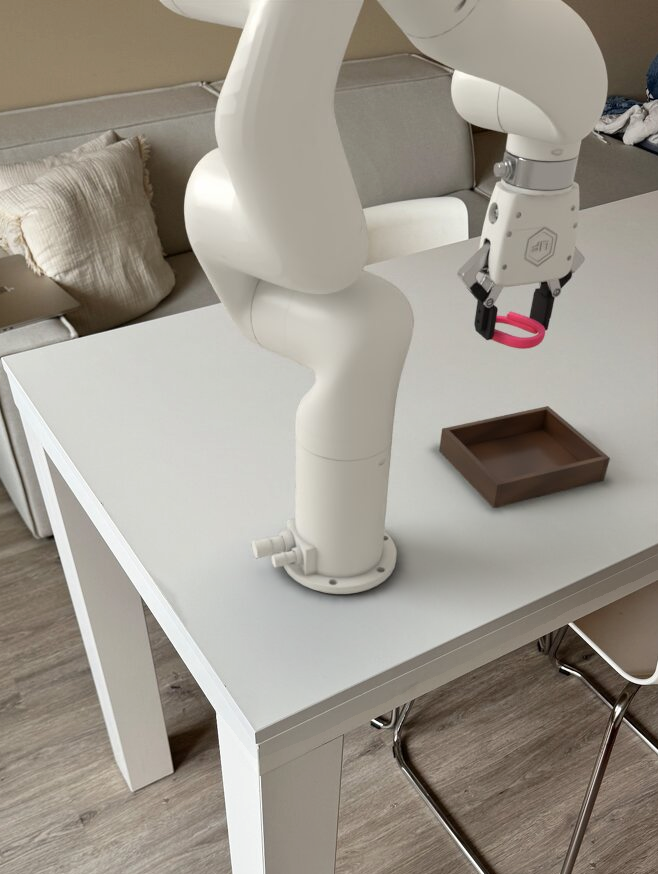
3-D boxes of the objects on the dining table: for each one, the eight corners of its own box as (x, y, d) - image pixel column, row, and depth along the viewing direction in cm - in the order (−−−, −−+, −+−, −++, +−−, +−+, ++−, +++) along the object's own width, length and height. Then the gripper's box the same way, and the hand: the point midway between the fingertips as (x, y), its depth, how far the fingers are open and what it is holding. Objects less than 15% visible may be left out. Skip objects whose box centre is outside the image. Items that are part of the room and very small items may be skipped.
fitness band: (553, 337, 106) (555, 325, 105) (527, 354, 102) (529, 341, 101) (495, 317, 109) (497, 305, 108) (468, 332, 106) (470, 320, 105)
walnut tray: (493, 508, 105) (497, 485, 103) (438, 450, 114) (441, 428, 112) (603, 480, 110) (610, 457, 108) (543, 427, 119) (548, 405, 117)
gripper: (484, 189, 88) (461, 355, 100) (628, 173, 93) (590, 333, 105) (449, 167, 94) (431, 328, 106) (587, 153, 99) (556, 307, 111)
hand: (511, 329), depth 105 cm, fingers closed on fitness band, 6 cm apart
